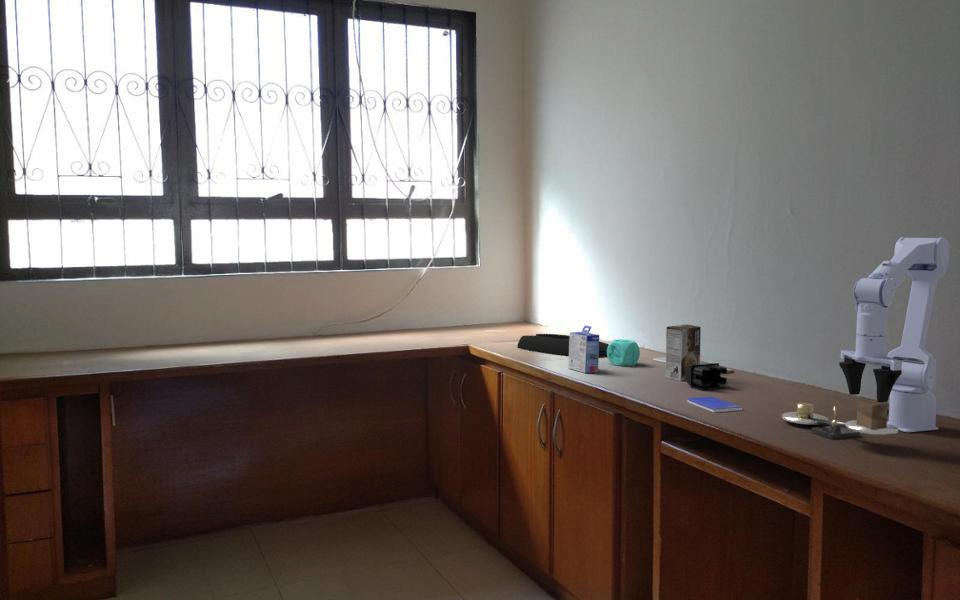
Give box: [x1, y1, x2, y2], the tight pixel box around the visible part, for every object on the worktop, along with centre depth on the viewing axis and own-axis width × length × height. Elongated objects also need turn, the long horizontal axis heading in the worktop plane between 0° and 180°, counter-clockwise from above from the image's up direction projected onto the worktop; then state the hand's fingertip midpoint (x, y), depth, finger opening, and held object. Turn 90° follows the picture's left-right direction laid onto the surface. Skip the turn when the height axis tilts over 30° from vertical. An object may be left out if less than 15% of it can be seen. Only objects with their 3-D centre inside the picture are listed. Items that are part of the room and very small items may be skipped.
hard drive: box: [686, 396, 743, 413], centre depth 198 cm, size 2×8×12 cm
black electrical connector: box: [685, 362, 728, 392], centre depth 221 cm, size 10×7×7 cm
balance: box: [781, 402, 899, 440], centre depth 170 cm, size 10×30×6 cm, turn 17°
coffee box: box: [664, 324, 702, 382], centre depth 234 cm, size 9×6×16 cm
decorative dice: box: [606, 338, 641, 367], centre depth 258 cm, size 8×8×8 cm
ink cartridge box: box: [568, 325, 600, 374], centre depth 246 cm, size 10×6×14 cm, turn 28°
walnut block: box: [856, 399, 889, 429], centre depth 160 cm, size 4×4×5 cm
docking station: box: [516, 333, 610, 358], centre depth 289 cm, size 25×41×5 cm, turn 43°
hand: (868, 398), depth 162 cm, fingers open, 7 cm apart
